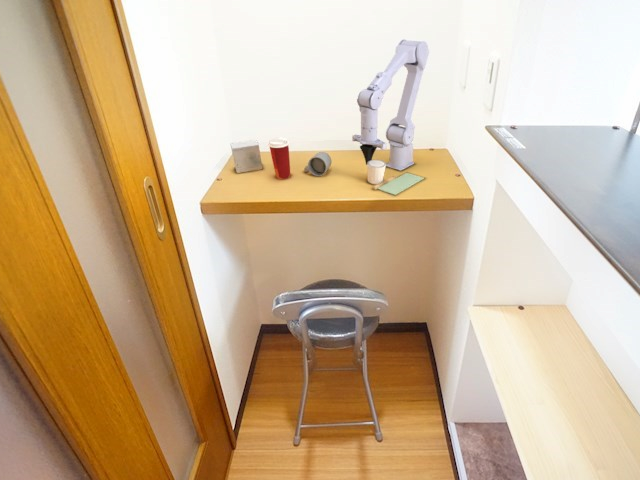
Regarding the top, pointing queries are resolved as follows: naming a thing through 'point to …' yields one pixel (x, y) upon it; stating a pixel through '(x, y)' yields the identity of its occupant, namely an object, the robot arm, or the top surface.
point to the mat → (400, 183)
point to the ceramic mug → (319, 164)
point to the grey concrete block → (246, 156)
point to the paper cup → (280, 157)
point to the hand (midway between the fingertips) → (368, 164)
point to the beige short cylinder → (375, 171)
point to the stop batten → (383, 182)
